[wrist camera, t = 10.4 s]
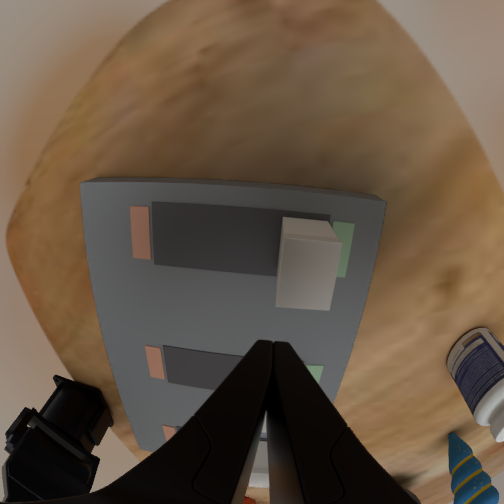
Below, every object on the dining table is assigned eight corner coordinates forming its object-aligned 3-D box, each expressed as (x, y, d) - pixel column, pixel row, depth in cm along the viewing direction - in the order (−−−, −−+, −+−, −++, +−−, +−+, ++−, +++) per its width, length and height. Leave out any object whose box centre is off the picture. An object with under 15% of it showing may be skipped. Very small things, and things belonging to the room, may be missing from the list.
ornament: (450, 421, 24) (487, 522, 10) (476, 418, 24) (513, 508, 10) (426, 446, 26) (453, 542, 12) (453, 443, 26) (481, 529, 12)
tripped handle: (276, 273, 17) (275, 306, 14) (281, 215, 16) (283, 237, 12) (320, 277, 17) (329, 310, 13) (328, 220, 16) (342, 243, 12)
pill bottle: (438, 376, 22) (476, 456, 13) (455, 329, 20) (510, 411, 11) (480, 366, 21) (521, 435, 12) (498, 321, 19) (553, 389, 10)
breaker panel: (145, 435, 28) (139, 449, 26) (96, 177, 18) (79, 182, 16) (303, 457, 27) (304, 472, 25) (375, 195, 17) (387, 202, 15)
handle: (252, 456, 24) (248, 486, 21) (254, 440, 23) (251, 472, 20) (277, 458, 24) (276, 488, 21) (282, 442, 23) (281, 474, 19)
